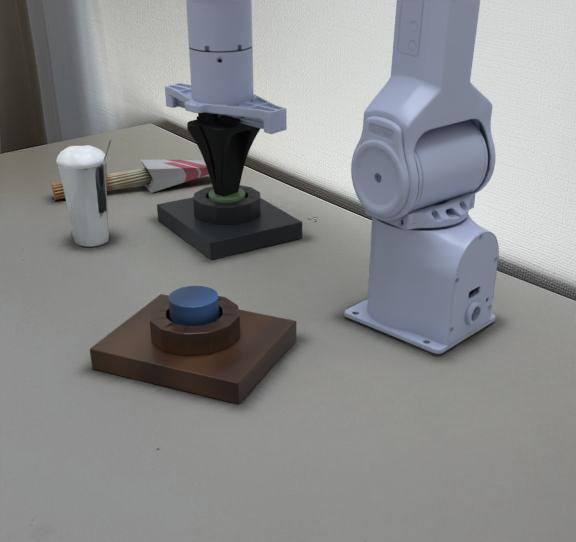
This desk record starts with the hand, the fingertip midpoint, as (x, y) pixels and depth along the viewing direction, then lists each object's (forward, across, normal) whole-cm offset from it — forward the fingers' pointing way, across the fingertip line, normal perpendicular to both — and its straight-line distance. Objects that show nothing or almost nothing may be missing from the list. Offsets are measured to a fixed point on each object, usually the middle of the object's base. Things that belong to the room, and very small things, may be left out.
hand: (226, 192), depth 85 cm
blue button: (+1, +17, -19) cm, 25 cm away
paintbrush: (+4, -16, +2) cm, 17 cm away
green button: (+2, 0, 0) cm, 2 cm away
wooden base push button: (+4, +17, -19) cm, 26 cm away
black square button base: (+4, 0, 0) cm, 4 cm away
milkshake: (+4, -7, -11) cm, 14 cm away
